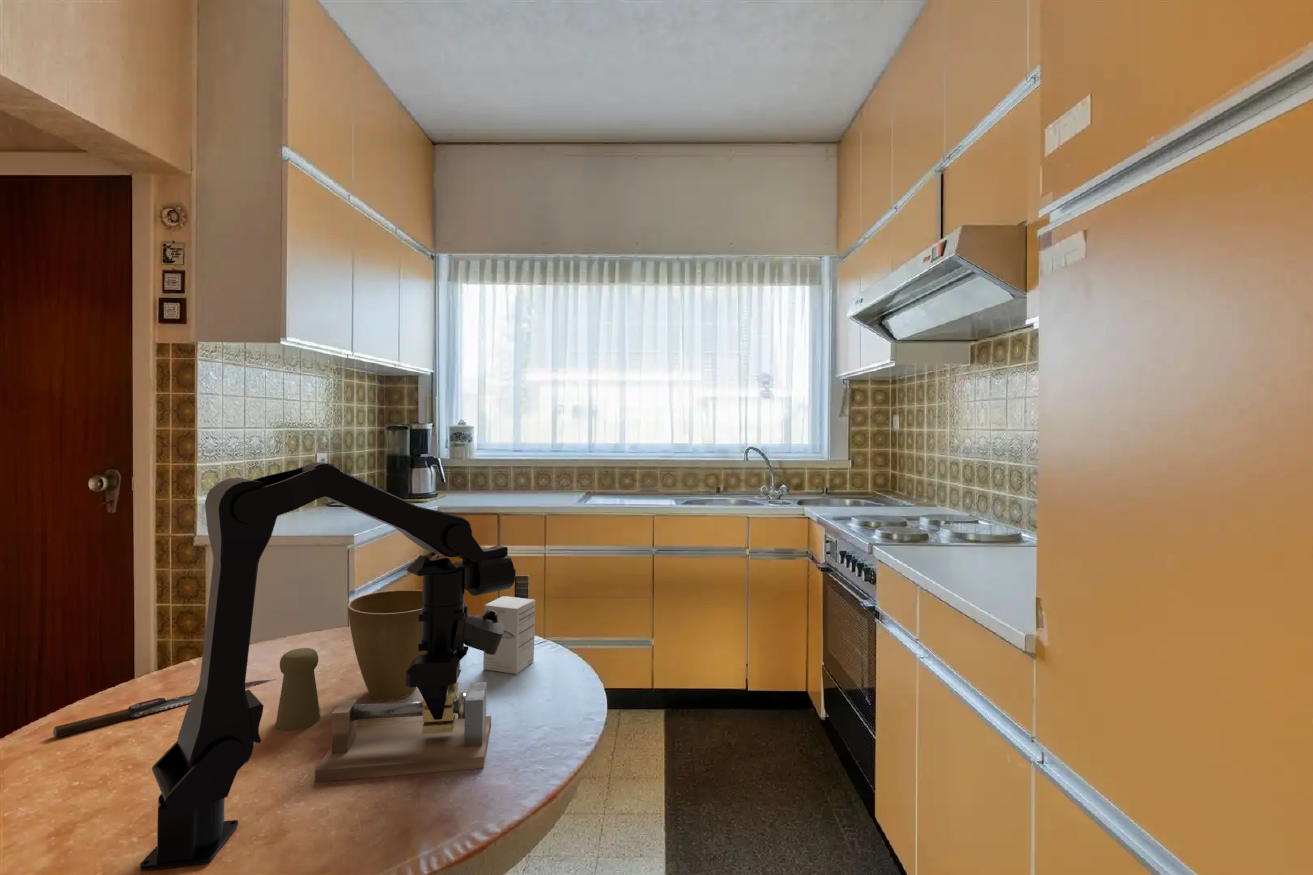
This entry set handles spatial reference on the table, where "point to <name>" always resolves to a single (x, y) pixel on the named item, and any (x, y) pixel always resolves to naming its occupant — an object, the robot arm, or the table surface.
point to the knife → (131, 712)
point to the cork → (298, 690)
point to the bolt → (465, 706)
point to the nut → (448, 716)
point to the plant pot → (386, 639)
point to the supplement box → (513, 635)
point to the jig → (394, 748)
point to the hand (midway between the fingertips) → (441, 710)
